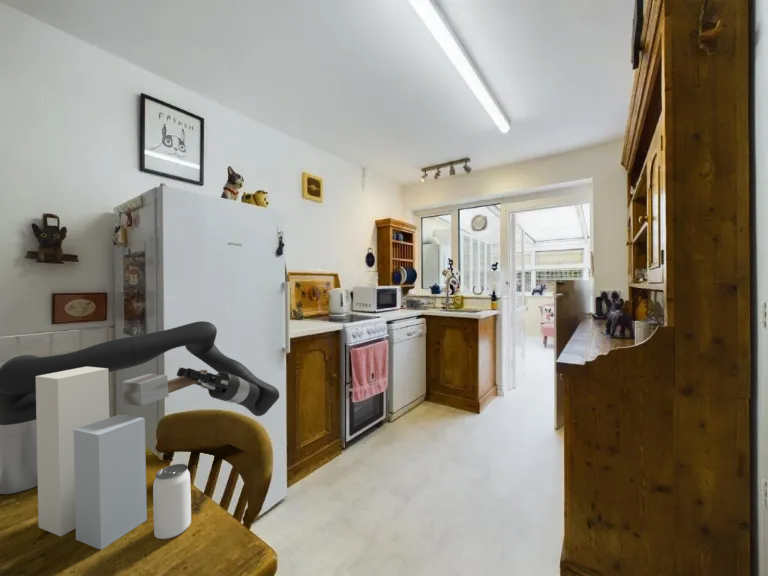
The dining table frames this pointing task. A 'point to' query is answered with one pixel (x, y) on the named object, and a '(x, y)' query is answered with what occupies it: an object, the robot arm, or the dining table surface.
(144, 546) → the dining table surface
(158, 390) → the mallet
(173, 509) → the can
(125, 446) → the short pedestal
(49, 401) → the tall pedestal
